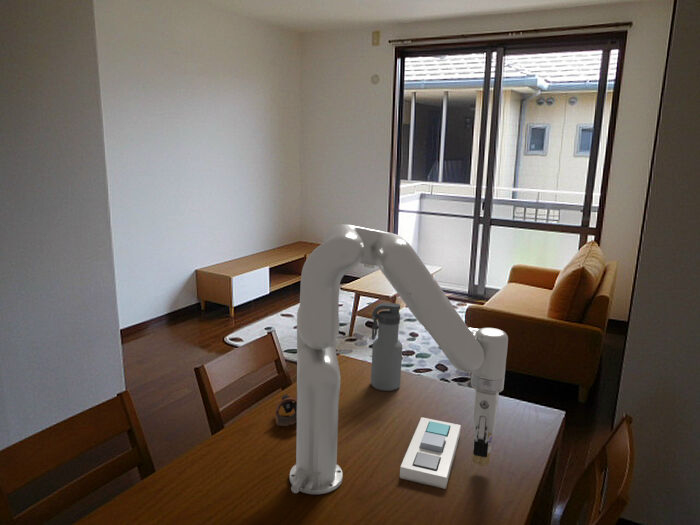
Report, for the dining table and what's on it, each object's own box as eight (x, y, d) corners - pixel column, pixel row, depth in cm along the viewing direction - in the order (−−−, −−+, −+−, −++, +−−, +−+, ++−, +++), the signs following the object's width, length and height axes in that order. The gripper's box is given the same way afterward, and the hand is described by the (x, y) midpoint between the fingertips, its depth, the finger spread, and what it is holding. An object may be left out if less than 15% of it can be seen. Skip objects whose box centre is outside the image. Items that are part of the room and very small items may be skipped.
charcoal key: (435, 478, 123) (436, 469, 122) (413, 473, 124) (413, 463, 124) (439, 465, 128) (439, 456, 127) (417, 460, 129) (418, 451, 129)
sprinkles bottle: (487, 469, 123) (492, 417, 121) (468, 463, 126) (473, 412, 123) (492, 459, 127) (497, 409, 124) (474, 453, 130) (478, 404, 127)
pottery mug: (317, 425, 147) (309, 408, 142) (288, 444, 144) (279, 428, 139) (299, 398, 156) (291, 381, 151) (272, 416, 153) (262, 399, 148)
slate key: (441, 455, 130) (442, 446, 129) (420, 451, 132) (420, 442, 131) (444, 444, 135) (445, 436, 134) (424, 440, 137) (424, 431, 136)
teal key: (445, 443, 138) (446, 435, 137) (425, 439, 139) (426, 430, 139) (449, 433, 143) (449, 425, 142) (429, 429, 144) (430, 421, 144)
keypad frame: (445, 489, 120) (446, 477, 120) (399, 477, 124) (400, 466, 123) (459, 434, 143) (460, 425, 143) (420, 426, 147) (421, 417, 146)
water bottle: (366, 389, 168) (370, 307, 162) (372, 377, 178) (376, 298, 172) (398, 393, 166) (403, 310, 160) (401, 380, 176) (406, 301, 169)
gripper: (501, 399, 113) (494, 473, 117) (505, 369, 128) (499, 435, 132) (466, 393, 115) (461, 466, 119) (474, 364, 131) (469, 429, 135)
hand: (481, 449), depth 126 cm, fingers closed on sprinkles bottle, 4 cm apart
